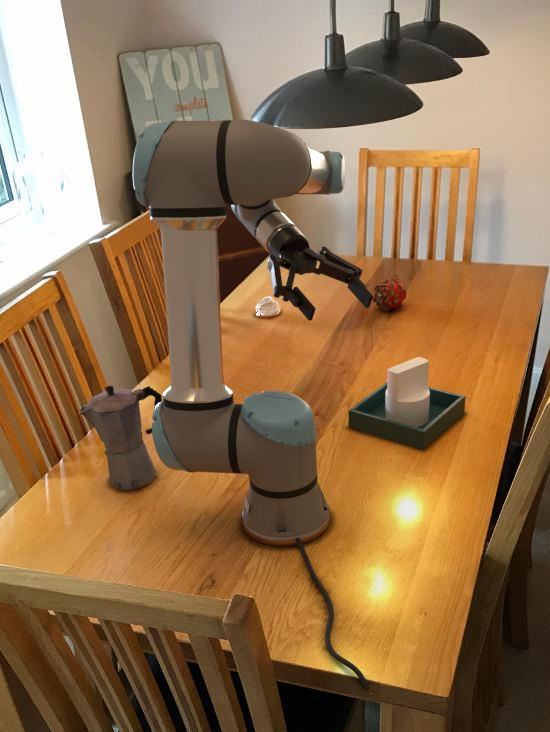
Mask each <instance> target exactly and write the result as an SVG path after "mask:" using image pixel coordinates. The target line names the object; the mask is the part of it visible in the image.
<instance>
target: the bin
mask: <svg viewBox="0 0 550 732" xmlns="http://www.w3.org/2000/svg"><path fill="white" fill-rule="evenodd" d="M386 389H387V381H386V382H385V383H383V384H382V385H380V386H379V387H377V389H375V390H374V391H372V392H371V393H370V394H369V395H367V396H366V397H364V398H363V399H362V400H360V401H359V402H357V403H356V404H355V405H354V406H352V407H351V408H350V409H349V410H348V413H347V414H348V429H352V430H354V431H358V432H361V433H365V434H368V435H371V436H375V437H379V438H382V439H385V440H388V441H391V442H395V443H398V444H402V445H405V446H408V447H412V448H416V449H419V450H422V451H424V450H426V448H427V447H429V446H430V445H431V444H432V443H433V442H434V441H435V440H436V439H437V438H439V437H440V436H441V435H442V434H443V433H444V432H445V431H446V430H448V429H449V428H450V427H451V426H452V425H454V423H456V422H457V421H458V420H459V419H460V418H461V417H462V416H463V415H465V412H466V411H465V410H466V395H462V394H460V393H455V392H451V391H447V390H443V389H439V388H436V387H432V386H428V389H429V391H430V402H429V419H428V422H427V423H426V424H424V425H422V426H420V427H413V426H409V425H405V424H402V423H398V422H395V421H391V420H388V419H386V418H385V401H386Z"/></svg>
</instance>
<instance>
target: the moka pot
mask: <svg viewBox="0 0 550 732" xmlns="http://www.w3.org/2000/svg"><path fill="white" fill-rule="evenodd" d="M150 396H151V397H153V398H154V405H153V406H154V407H153V410H154V409H155V407H156V405H157V404H158V403H159V402H161V401H163V395H162V394H160V393H159V392H158V391H157V390H156V389H154V388H153V387H151V386H150V385H147V386H146V387H143V388H139V389H135V390H131V389H128V388H116V389H114V385H107V386H105V387H104V391H103V392H101V393H97V394H96V395H94V396H92V397H90V399H89V401H88V402H87V403H86V404H83V405H81V408H80V409H79V410H78V414H79V415H82V416H83V417H84V418H85V419H86V420H87V421H88V423H90V425H91V426H92V427H93V428H94V429H95V431H96V432H97V435H98V437H99V440H100V441H101V442H102V443H103V446H104V448H105V450H104V455H106V460H107V467H108V474H109V481H110V486H112V487H113V488H115V489H117V490H121V491H133V490H137V489H140V488H142V487H145V486H147V485H148V484H150V483H151V482H152V481H153V480H154V479H155V477H156V468H155V466H154V463H153V461H152V459H151V456H150V454H149V451H148V449H147V446H146V443H145V442H144V440H143V432H142V430H143V429H142V419H141V408H140V407H141V406H140V401H144V400H145V399H147V398H148V397H150ZM144 432H145V433H146V434H147V435H151V434H152V427H150V428H148V429H146V430H145V431H144Z"/></svg>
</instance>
